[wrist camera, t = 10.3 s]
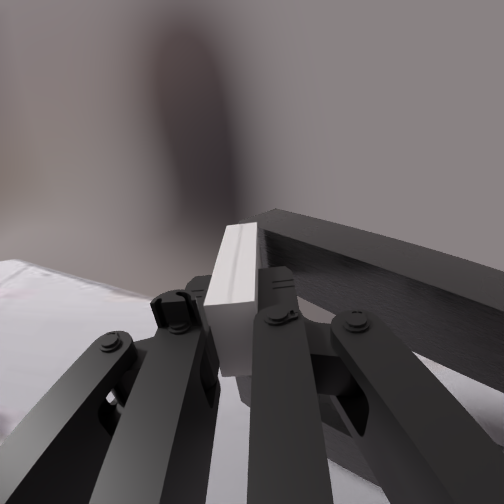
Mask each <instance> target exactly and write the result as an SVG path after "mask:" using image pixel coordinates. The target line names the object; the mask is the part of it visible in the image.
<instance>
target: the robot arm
mask: <svg viewBox="0 0 504 504" xmlns="http://www.w3.org/2000/svg"><path fill="white" fill-rule="evenodd" d="M150 305H151V308H152V311H153V314H154V317H155V320H156V323H157V326H158V329H157V331H156V334H155V336H154V337H151V338H148V339H144V340H140V341H136V342H133V340H132V337H131V336H130V335H129V333H127V332H124V331H112V332H108V333H106V334H104V335H102V336H100V337H99V338H98V339H97V340H95V341H94V342H93V343H92V344H91V345H90V347H89V348H88V349H87V350H86V351H85V352H84V353H83V354H82V355H81V356H80V357H79V358H78V359H77V360H76V361H75V362H74V363H73V365H72V366H71V367H70V368H69V369H68V370H67V371H66V372H65V373H64V374H63V375H62V376H61V377H60V379H59V380H58V381H57V382H56V383H55V384H54V385H53V386H52V387H51V388H50V390H49V391H48V392H47V393H46V394H45V395H44V396H43V397H42V398H41V400H40V401H39V402H38V403H37V404H36V405H35V406H34V407H33V409H32V410H31V411H30V412H29V413H28V414H27V415H26V416H25V418H24V419H23V420H22V421H21V422H20V423H19V425H18V426H17V427H16V428H15V429H14V430H13V432H12V433H11V434H10V435H9V436H8V437H7V439H6V440H5V441H4V442H3V443H2V445H1V446H0V504H205V502H206V495H207V487H208V479H209V472H210V464H211V456H212V449H213V442H214V434H215V427H216V419H217V412H218V405H219V398H220V391H221V388H220V382H219V379H218V371H219V367H220V370H221V374H222V377H231V376H249V375H252V378H251V406H250V434H249V461H248V487H247V504H334V503H333V496H332V488H331V481H330V474H329V467H328V460H327V453H326V447H325V440H324V434H323V428H322V421H321V415H320V409H319V403H318V397H317V394H325V395H330V398H331V401H332V402H333V404H334V406H335V408H336V409H337V411H338V413H339V415H340V416H341V418H342V420H343V422H344V423H345V425H346V427H347V429H348V430H349V432H350V434H351V436H352V437H353V439H354V441H355V443H356V444H357V446H358V448H359V450H360V451H361V453H362V455H363V457H364V458H365V460H366V462H367V464H368V465H369V467H370V469H371V470H372V472H373V474H374V476H375V477H376V479H377V481H378V483H379V484H380V486H381V488H382V490H383V491H384V493H385V495H386V497H387V498H388V500H389V502H390V504H504V453H503V452H502V451H501V449H500V448H499V447H498V446H497V445H496V444H495V442H494V441H493V440H492V439H491V438H490V437H489V435H488V434H487V433H486V432H485V431H484V430H483V429H482V427H481V426H480V425H479V424H478V423H477V422H476V421H475V419H474V418H473V417H472V416H471V415H470V414H469V413H468V412H467V410H466V409H465V408H464V407H463V406H462V405H461V404H460V403H459V402H458V401H457V399H456V398H455V397H454V396H453V395H452V394H451V393H450V392H449V391H448V390H447V388H446V387H445V386H444V385H443V384H442V383H441V382H440V381H439V380H438V379H437V378H436V377H435V376H434V374H433V373H432V372H431V371H430V370H429V369H428V368H427V367H426V366H425V365H424V364H423V363H422V362H421V361H420V360H419V359H418V357H417V356H416V355H415V354H414V353H413V352H412V351H411V350H410V349H409V348H408V347H407V346H406V345H405V344H404V343H403V342H402V341H401V340H400V339H399V338H398V337H397V336H396V335H395V334H394V333H393V332H392V331H391V329H390V328H389V327H388V326H387V325H386V324H385V323H384V322H383V321H382V320H381V319H380V318H379V317H378V316H376V315H375V314H373V313H372V312H368V311H365V310H355V309H354V310H348V311H344V312H342V313H339V314H337V315H336V316H335V317H334V318H333V319H332V322H331V324H325V323H318V322H313V321H311V320H308V319H307V318H305V317H304V316H303V315H302V313H301V311H300V310H299V306H298V300H297V295H296V289H295V284H294V279H293V274H292V271H291V270H289V269H288V268H287V267H286V266H280V267H271V268H263V264H262V256H261V249H260V242H259V234H258V227H257V222H254V223H246V224H238V225H230V226H227V227H226V231H225V234H224V237H223V240H222V244H221V247H220V250H219V254H218V257H217V261H216V264H215V267H214V271H213V274H212V275H206V276H197V277H194V278H193V279H192V280H191V281H190V282H189V283H188V284H187V286H186V288H185V290H173V291H168V292H166V293H163V294H160V295H159V296H157V297H156V298H154V299H153V300H152V302H151V303H150ZM110 391H111V392H112V393H113V395H114V397H115V399H114V400H113V401H112V402H111V403H109V402H108V401H107V399H106V397H107V395H108V394H109V393H110Z"/></svg>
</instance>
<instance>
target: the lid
mask: <svg viewBox="0 0 504 504" xmlns="http://www.w3.org/2000/svg"><path fill="white" fill-rule="evenodd" d="M254 222H257V227H258V234H259V242H260V249H261V256H262V264H263V268H271V267H280V266H286V267H287V268H288V269H289V270H291V271H292V274H293V279H294V284H295V289H296V295H297V296H299V297H301V298H303V299H305V300H307V301H309V302H311V303H313V304H315V305H317V306H319V307H321V308H323V309H325V310H327V311H330V312H331V313H333V314H335V315H337V314H339V313H342V312H344V311H348V310H354V309H355V310H365V311H368V312H372V313H373V314H375V315H376V316H378V317H379V318H380V319H381V320H382V321H383V322H384V323H385V324H386V325H387V326H388V327H389V328H390V329H391V331H392V332H393V333H394V334H395V335H396V336H397V337H398V338H399V339H400V340H401V341H402V342H403V343H404V344H405V345H406V346H407V347H408V348H409V349H410V350H411V351H413V352H415V353H417V354H419V355H421V356H424V357H426V358H428V359H430V360H432V361H434V362H437V363H439V364H441V365H443V366H445V367H447V368H450V369H452V370H454V371H456V372H458V373H460V374H463V375H465V376H467V377H469V378H471V379H474V380H476V381H478V382H480V383H482V384H485V385H487V386H489V387H491V388H494V389H496V390H498V391H500V392H503V393H504V272H503V271H500V270H497V269H494V268H491V267H487V266H484V265H481V264H478V263H475V262H472V261H468V260H465V259H462V258H459V257H455V256H452V255H449V254H446V253H442V252H439V251H436V250H432V249H429V248H425V247H422V246H418V245H415V244H411V243H407V242H404V241H401V240H397V239H394V238H390V237H386V236H383V235H379V234H375V233H372V232H367V231H364V230H360V229H356V228H353V227H348V226H345V225H341V224H337V223H333V222H329V221H325V220H321V219H317V218H313V217H309V216H305V215H301V214H296V213H292V212H288V211H284V210H279V209H273V210H270V211H267V212H265V213H262V214H259V215H255V216H253V217H250V218H247V219H244V220H241V221H239V224H246V223H254Z"/></svg>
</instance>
